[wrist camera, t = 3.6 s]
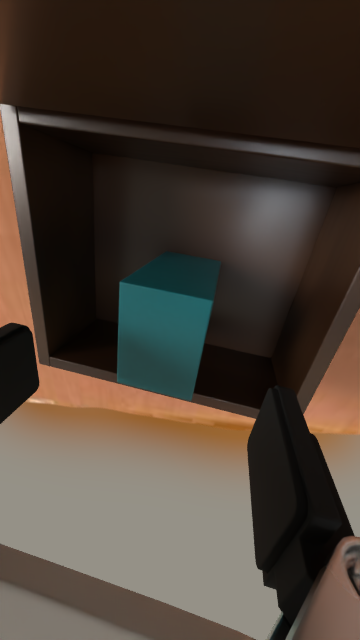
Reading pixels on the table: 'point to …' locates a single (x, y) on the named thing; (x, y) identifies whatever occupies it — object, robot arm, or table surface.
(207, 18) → the lid
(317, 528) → the robot arm
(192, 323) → the block
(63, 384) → the table surface
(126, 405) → the table surface
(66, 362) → the chest
